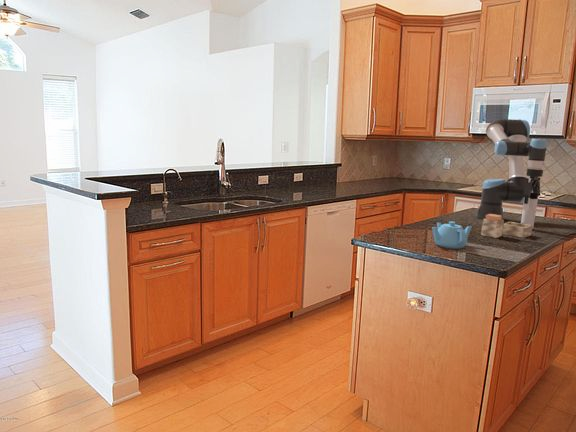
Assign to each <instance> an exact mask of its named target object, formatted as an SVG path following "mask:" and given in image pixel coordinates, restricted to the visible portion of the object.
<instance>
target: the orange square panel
mask: <svg viewBox="0 0 576 432" xmlns="http://www.w3.org/2000/svg"><path fill="white" fill-rule="evenodd" d="M501 218H502V216H501V215H495V214H488V215H486V218H485V220H491V221H497V222H498V221H501Z"/></svg>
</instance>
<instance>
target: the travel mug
mask: <svg viewBox="0 0 576 432" xmlns="http://www.w3.org/2000/svg"><path fill="white" fill-rule="evenodd" d="M537 197H538V198H537ZM529 198H530V203H529V210H522V211H521V212H522V213H521V219H520V223H521V224H527V225H532V231H533V230H534V226H535V220H536V211H537V208H538V202H537V200H538V199H539V196H538V194H536V193H533V192H532V193H531V195H530V197H529ZM536 207H537V208H536Z"/></svg>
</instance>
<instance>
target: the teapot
mask: <svg viewBox="0 0 576 432" xmlns="http://www.w3.org/2000/svg"><path fill="white" fill-rule="evenodd" d="M472 227H473V226H470V225H468V226H466V227H465V229H464V228H463V226H462V225H461V224H460V225H459V224H456V221H451V220H450V221H448V223H443V224H442V223H441V222H436V226H432V227H431V230H432V237H433V240H434V244H436V245H437V246H439V247H442V248H446V249H457V250H458V249H463V248H464V247H465V246H466V245H467V244H468V238H469V236H470V233H471V230H472Z"/></svg>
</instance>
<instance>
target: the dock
mask: <svg viewBox="0 0 576 432" xmlns="http://www.w3.org/2000/svg"><path fill="white" fill-rule="evenodd" d="M532 231H533V230H532V225H527V224H521V222H520V223H519V222H514V221H507V222H505V220H504V219H503V220H501V221H498V222H497V221H491V220H485V219H482V223H481V231H480V236H483V237H484V236H485V237H489V238H495V239H497V238H499V237H502V236H503V235H505V236H510V237H511V236H512V237H517V238H523V239H525V238H527V237H530V236H532Z"/></svg>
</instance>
